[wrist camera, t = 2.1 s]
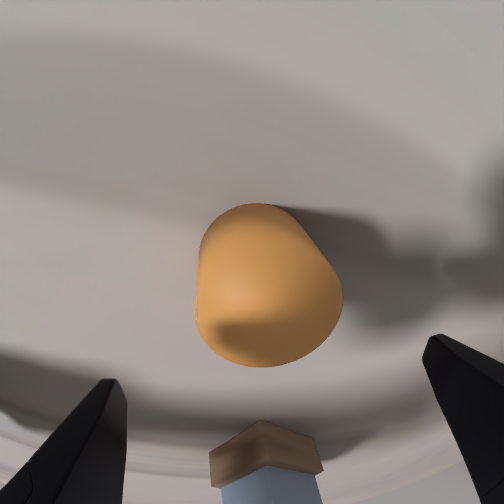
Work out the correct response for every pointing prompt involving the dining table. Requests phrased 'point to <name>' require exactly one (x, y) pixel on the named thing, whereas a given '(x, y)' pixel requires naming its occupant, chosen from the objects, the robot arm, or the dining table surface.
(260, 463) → the walnut base block
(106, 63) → the dining table surface
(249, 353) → the orange cylinder
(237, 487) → the slate top block
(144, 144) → the dining table surface
